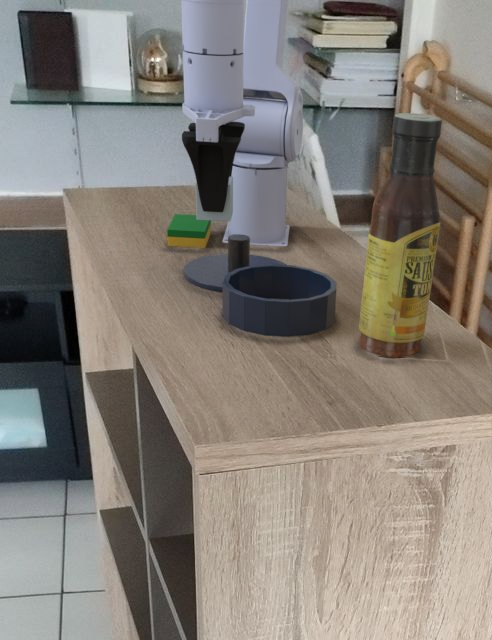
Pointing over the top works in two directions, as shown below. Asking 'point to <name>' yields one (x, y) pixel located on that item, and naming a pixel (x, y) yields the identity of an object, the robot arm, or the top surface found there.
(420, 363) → the top surface
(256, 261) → the lid
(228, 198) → the ice cube
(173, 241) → the scrubber
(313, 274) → the pot
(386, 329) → the sauce bottle
